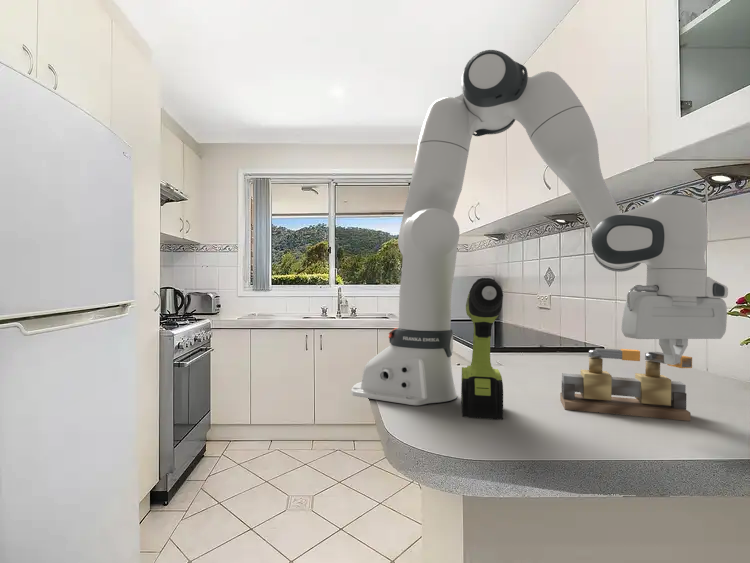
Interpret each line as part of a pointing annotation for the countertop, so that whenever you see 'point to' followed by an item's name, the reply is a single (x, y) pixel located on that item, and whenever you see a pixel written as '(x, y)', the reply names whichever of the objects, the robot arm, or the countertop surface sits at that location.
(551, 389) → the countertop surface
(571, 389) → the valve manifold
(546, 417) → the countertop surface
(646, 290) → the robot arm
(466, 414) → the cordless drill
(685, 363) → the right valve lever
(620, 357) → the left valve lever
